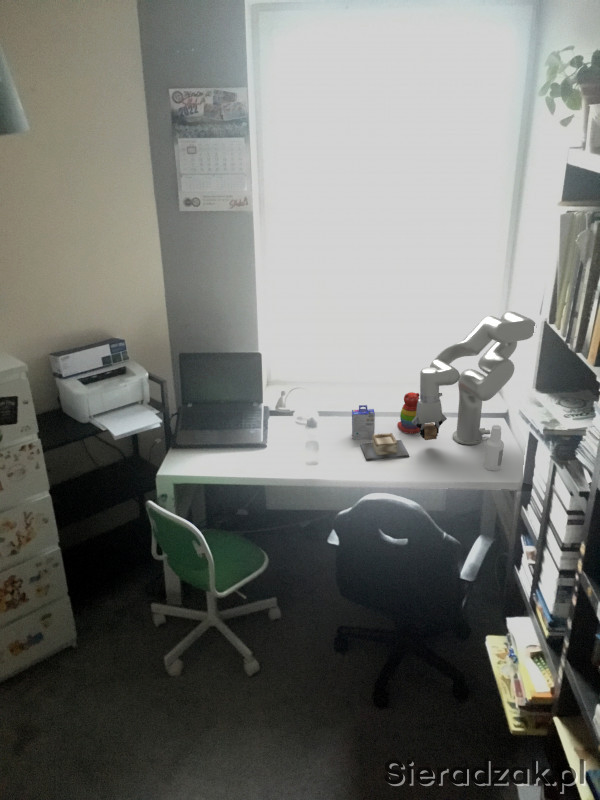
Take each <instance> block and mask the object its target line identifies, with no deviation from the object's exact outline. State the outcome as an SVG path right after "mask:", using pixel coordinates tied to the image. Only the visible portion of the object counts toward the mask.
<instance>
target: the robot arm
mask: <svg viewBox="0 0 600 800" xmlns="http://www.w3.org/2000/svg"><path fill="white" fill-rule="evenodd" d="M535 324H536V322H535V321H534V320H533V319H531V318H529V317H527V316H525V315H522V314H520V313H518V312H516V311H511V310H509V311H508V310H507V311H505V312H504V313H503V314H502V316H501V317H500V318H499V317H496V316H493V315H487V316H485V317H484V318H482V319H481V321H480V322H479V323H477V324H476V326H475V327H474V328H473V329H472V330H471V331H470V332H469V333H468V334H467V335H466V336H465V337H464V338H463V340H461V341H459V342H457V343H456V342H455V343H454V344H452V345H450V346H448V347H446V348H444V349H442V351H441V352H440V353H439V354H437V356H436V357H435V358H434V359H433V360H432V362H431V364H430V366H427V367H424V368H422V369H421V370H420V373H419V376H420V377H419V383H420V385H419V387H420V388H419V399H418V403H417V409H416V417H415V418H414V419H413V421H412V423H413V424H414V425H416V426H417V427H418V428H420V431H419V436H421V437H422V439H424V425H425V424H429V423H434V425H435V426H436V428H437V437H438V436H439V435H438V434H439V429H440V427H441V425H442V424H443V423H444V422H445V421H447V419H448V418H447V416H446V415H445V414H443V407H442V400H441V399H440V397H443V392H440V387H442V386H452V385H454V384H456V383H457V384H458V394H459V396H458V397H459V398H458V407H457V408H458V409H457V410H458V411H457V420H456V421H457V423H456V430H455V431H454V432H453V433H452V439H453V440H454V441H455V442H457V443H459V444H460V445H465V446H473V445H478V444H479V443H481V442H482V441H483V436H484V435H491V430H490V429H486V427H482V428H481V421H482V420H481V417H482V407H483V402H487V401H489V400H491V399H492V398H494V397H495V396H496V395H497V394H498V393H499V391H500V390H501V389H502V388H503V387H504V386H505V385H506V384H507V383H508V382H509V381H510V380H511V378H512V377H513V375H514V372H515V364H514V363H513V361H512V360H511V359H509V358H510V357H511V356H512V355H513V354H514V352H515V351H516V349H517V346H518V342H521V341H525V340H526V341H527V340H528V339H531V338H532V337H533V336H534V335H533V333H534V326H535ZM493 341H494V343H493V344H492V345H491V346H490V347H489V348H488V350H486V351H485V353H484V354H483V355H481V356H480V358H479V360H478V364H477V365H478V368H479V369H480V370H481V371H482V372H483V373H484V374H483V373H481V372H480V371H478V370H475V369H472V368H469V369H464V370H463V371H462V372H461V373H460V372H459V370H458V369H457V368H455V367H454V366H452V365H451V364H452V362H454V361H455V360H457V359H459V358H462V357H473V356H478V355H480V354H481V353H482V351H483V350H484V349H486V347H487V346H488V345H489V344H490V343H491V342H493ZM485 374H487V375H485ZM417 421H419V423H418V422H417Z"/></svg>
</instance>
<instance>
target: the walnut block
mask: <svg viewBox="0 0 600 800" xmlns="http://www.w3.org/2000/svg"><path fill="white" fill-rule="evenodd" d="M437 437H438V436H437V428H436V426H435V422H433V423H425V425H424V438H423V440H424V441H430V440H437Z"/></svg>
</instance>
